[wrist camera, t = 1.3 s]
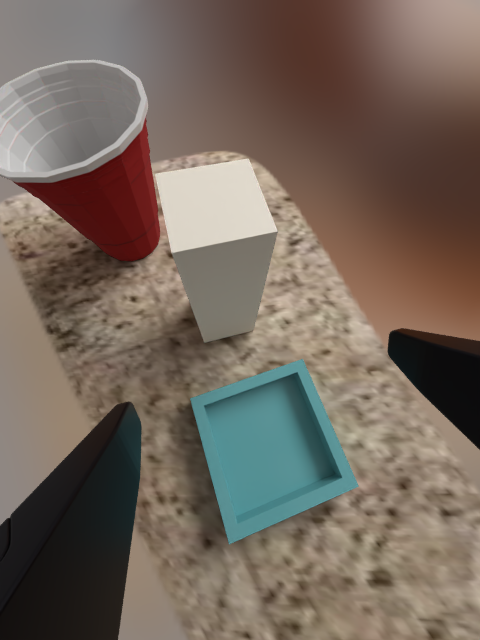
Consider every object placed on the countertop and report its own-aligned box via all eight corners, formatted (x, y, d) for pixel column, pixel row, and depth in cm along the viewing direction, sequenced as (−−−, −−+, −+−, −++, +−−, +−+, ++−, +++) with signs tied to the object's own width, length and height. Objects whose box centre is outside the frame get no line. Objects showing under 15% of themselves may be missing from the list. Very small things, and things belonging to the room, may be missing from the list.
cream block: (253, 330, 23) (277, 231, 11) (204, 342, 22) (171, 253, 10) (240, 287, 24) (248, 158, 12) (194, 298, 24) (155, 173, 12)
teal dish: (346, 479, 19) (358, 486, 17) (229, 530, 18) (229, 544, 16) (296, 364, 22) (302, 359, 20) (193, 400, 21) (190, 398, 19)
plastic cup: (79, 202, 28) (-25, 55, 16) (180, 194, 28) (146, 49, 17) (69, 291, 24) (-75, 177, 13) (186, 278, 25) (148, 162, 13)
